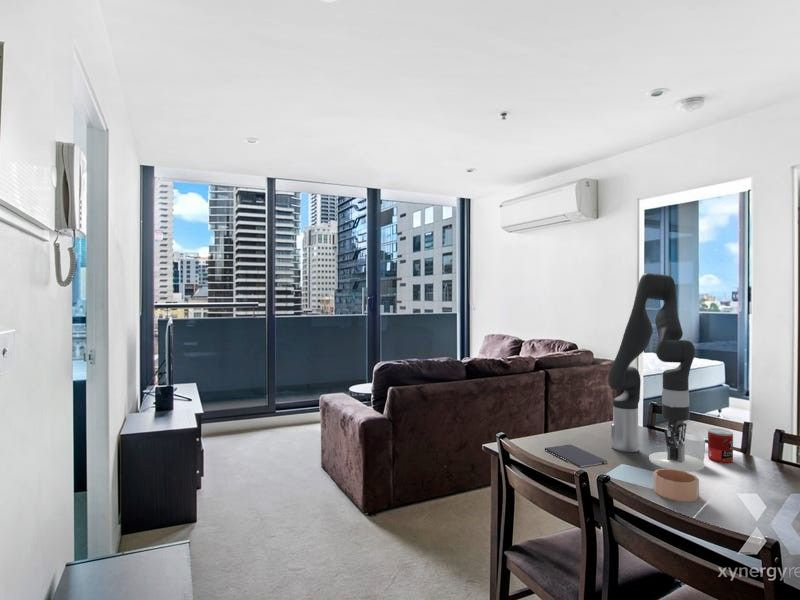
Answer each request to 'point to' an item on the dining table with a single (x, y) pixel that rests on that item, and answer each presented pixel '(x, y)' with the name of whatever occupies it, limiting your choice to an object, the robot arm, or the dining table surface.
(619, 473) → the mat
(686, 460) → the lid
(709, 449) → the canned food
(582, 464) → the notebook
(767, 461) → the dining table surface
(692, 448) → the white cup
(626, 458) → the dining table surface
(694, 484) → the bowl
